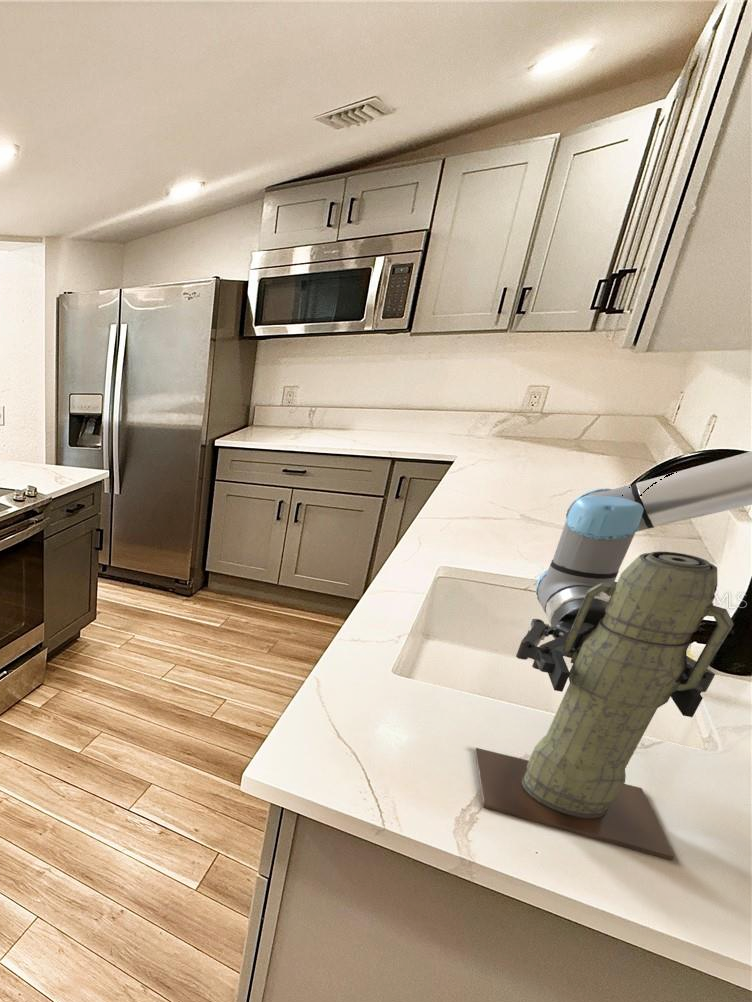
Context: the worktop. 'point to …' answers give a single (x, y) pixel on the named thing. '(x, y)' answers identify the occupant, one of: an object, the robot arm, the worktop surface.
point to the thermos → (624, 678)
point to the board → (620, 825)
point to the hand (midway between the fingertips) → (624, 693)
